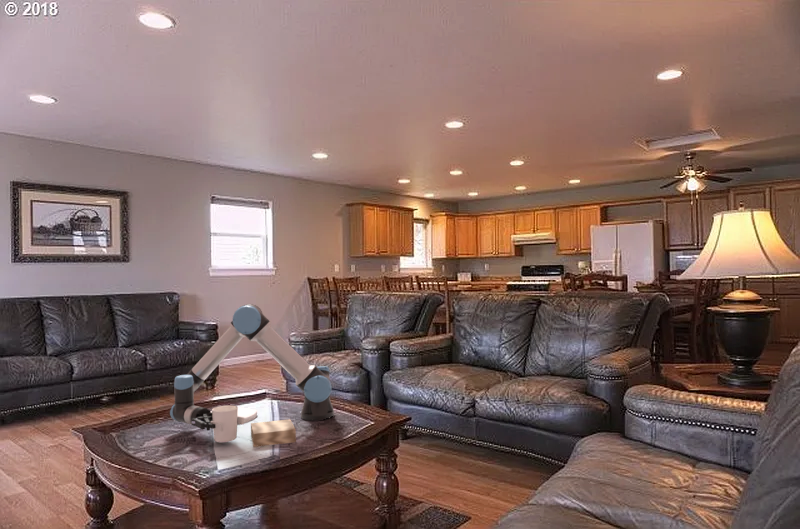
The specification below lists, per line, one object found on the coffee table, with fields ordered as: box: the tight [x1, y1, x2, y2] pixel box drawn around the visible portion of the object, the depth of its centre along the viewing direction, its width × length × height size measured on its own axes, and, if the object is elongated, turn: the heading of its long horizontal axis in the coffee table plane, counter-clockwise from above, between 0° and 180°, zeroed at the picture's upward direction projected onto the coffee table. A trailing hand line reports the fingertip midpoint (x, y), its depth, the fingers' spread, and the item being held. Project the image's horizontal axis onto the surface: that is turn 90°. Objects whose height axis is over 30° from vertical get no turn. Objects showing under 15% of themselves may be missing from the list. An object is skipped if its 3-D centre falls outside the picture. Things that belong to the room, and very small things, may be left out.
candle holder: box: [211, 405, 239, 443], centre depth 214 cm, size 10×10×12 cm
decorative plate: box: [210, 406, 258, 423], centre depth 253 cm, size 25×4×25 cm
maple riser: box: [250, 418, 297, 448], centre depth 220 cm, size 16×16×5 cm
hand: (232, 424), depth 212 cm, fingers closed on candle holder, 9 cm apart
